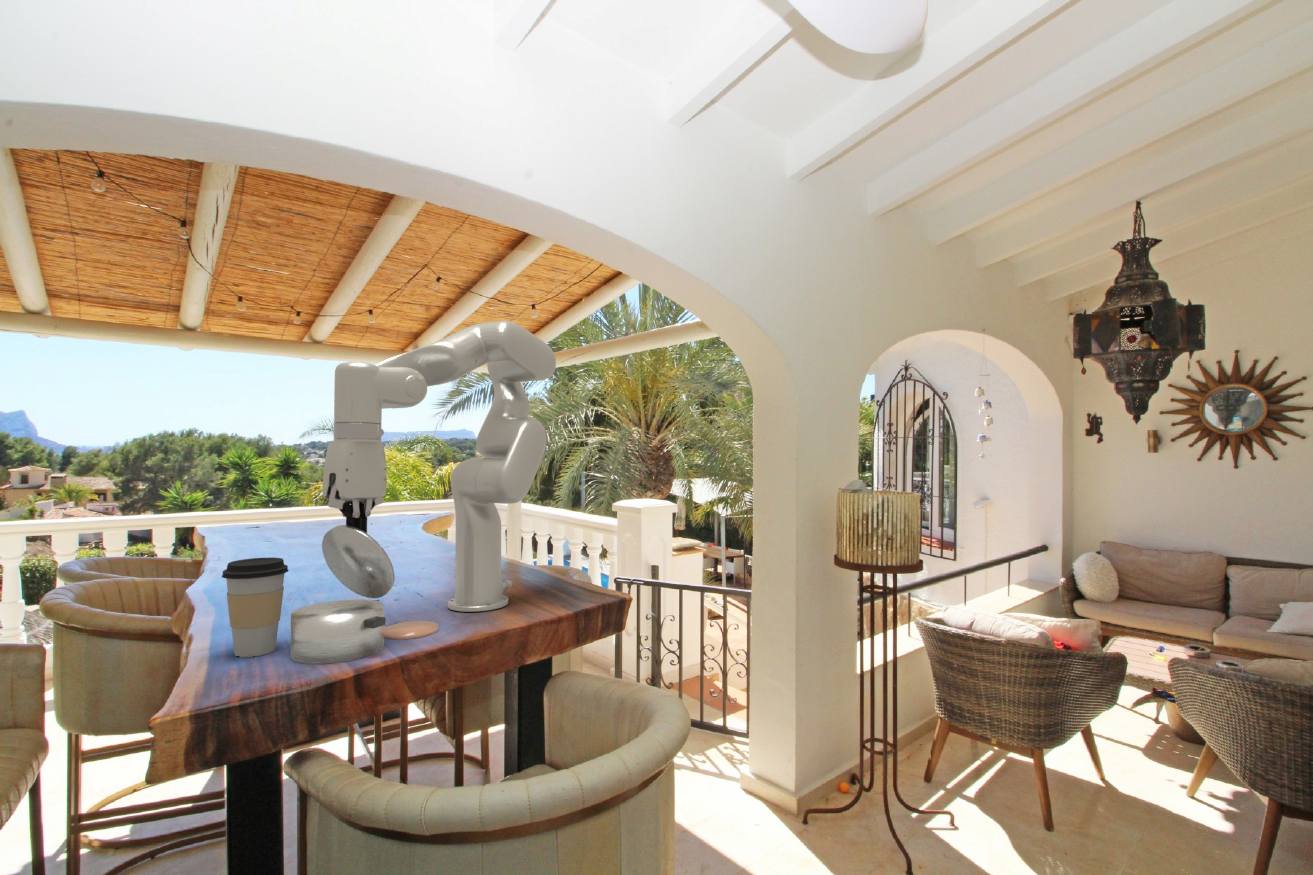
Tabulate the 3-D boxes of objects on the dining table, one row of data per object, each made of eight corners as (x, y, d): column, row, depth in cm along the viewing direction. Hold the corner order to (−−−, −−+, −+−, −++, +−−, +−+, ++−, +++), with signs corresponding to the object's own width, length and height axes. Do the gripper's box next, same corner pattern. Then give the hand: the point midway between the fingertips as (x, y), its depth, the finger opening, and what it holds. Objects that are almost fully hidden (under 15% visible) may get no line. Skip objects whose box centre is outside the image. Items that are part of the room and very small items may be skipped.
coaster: (409, 621, 124) (409, 618, 124) (450, 627, 120) (450, 624, 120) (367, 635, 115) (367, 632, 115) (411, 641, 111) (411, 638, 111)
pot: (334, 633, 117) (335, 595, 117) (411, 644, 110) (411, 604, 110) (261, 655, 104) (262, 613, 104) (343, 670, 97) (343, 625, 97)
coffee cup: (275, 640, 112) (275, 554, 113) (297, 650, 106) (298, 560, 107) (212, 653, 105) (213, 562, 105) (232, 665, 99) (233, 568, 99)
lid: (340, 594, 116) (348, 587, 117) (402, 601, 110) (410, 594, 112) (310, 525, 110) (319, 519, 112) (373, 529, 105) (382, 523, 106)
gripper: (375, 435, 119) (374, 534, 119) (304, 433, 105) (302, 544, 105) (406, 435, 116) (405, 536, 116) (337, 432, 102) (335, 547, 102)
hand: (356, 539), depth 110 cm, fingers closed
